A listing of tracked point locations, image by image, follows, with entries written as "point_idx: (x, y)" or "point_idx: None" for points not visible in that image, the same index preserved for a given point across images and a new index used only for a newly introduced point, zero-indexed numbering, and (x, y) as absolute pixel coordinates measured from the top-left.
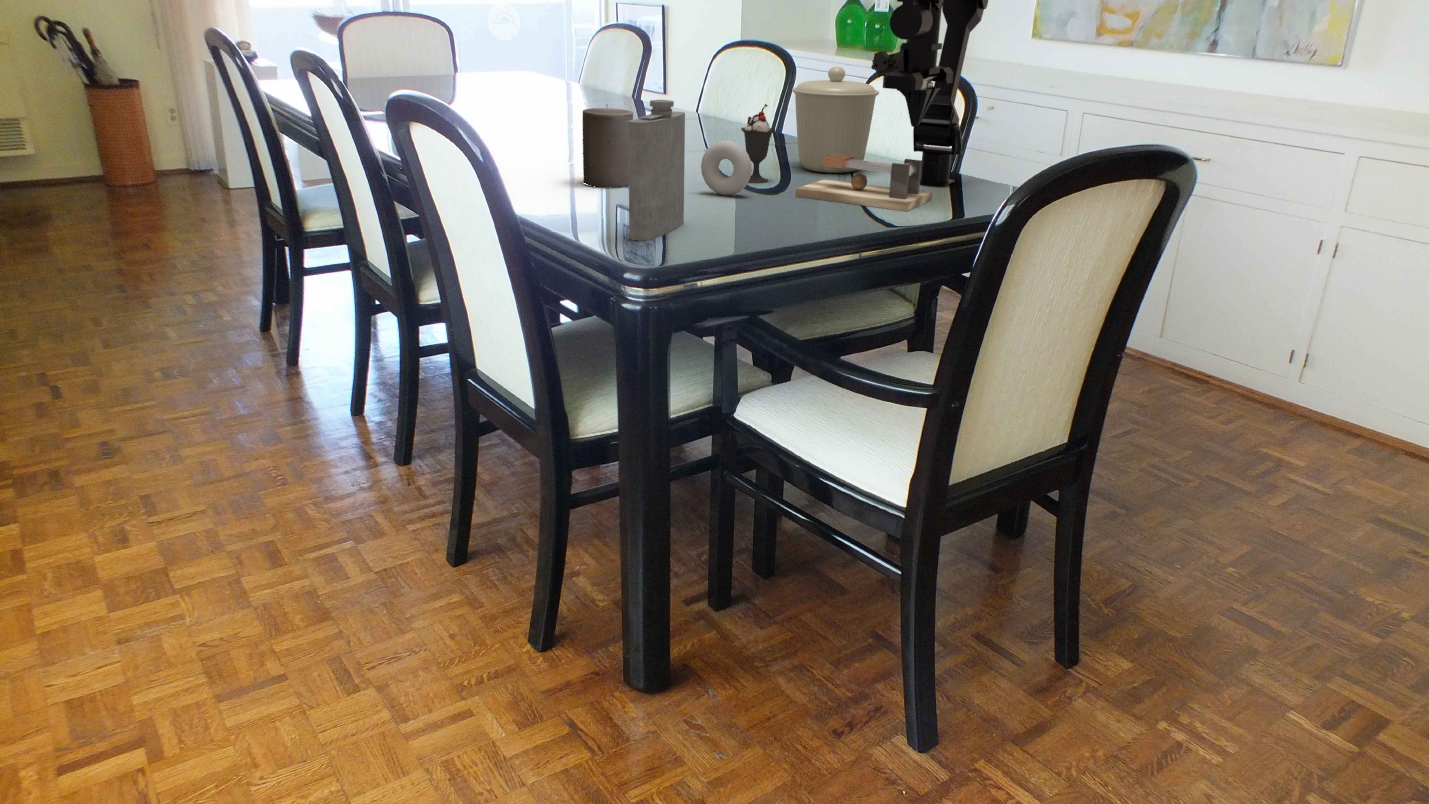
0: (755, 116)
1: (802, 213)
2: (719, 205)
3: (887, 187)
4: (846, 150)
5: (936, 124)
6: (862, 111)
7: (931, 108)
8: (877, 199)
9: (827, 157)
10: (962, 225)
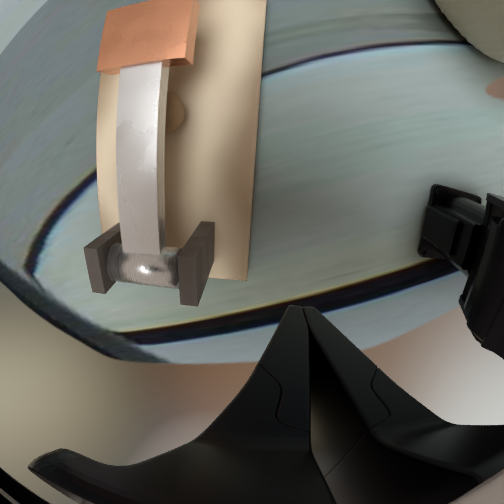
0: None
1: (14, 124)
2: (20, 14)
3: (249, 165)
4: (472, 13)
5: (498, 308)
6: None
7: None
8: (99, 202)
9: (104, 24)
10: (97, 346)
